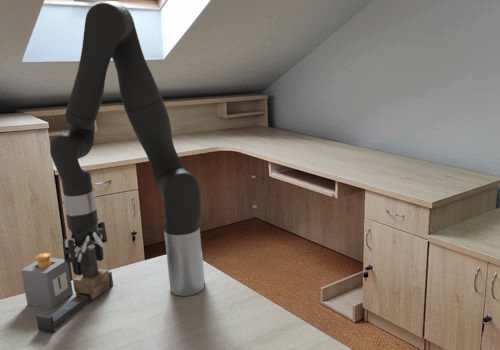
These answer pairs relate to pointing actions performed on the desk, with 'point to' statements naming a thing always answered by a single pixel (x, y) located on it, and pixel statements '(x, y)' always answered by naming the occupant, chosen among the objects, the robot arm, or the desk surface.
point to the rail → (64, 312)
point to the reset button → (43, 260)
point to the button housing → (47, 283)
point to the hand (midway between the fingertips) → (89, 267)
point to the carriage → (91, 276)
